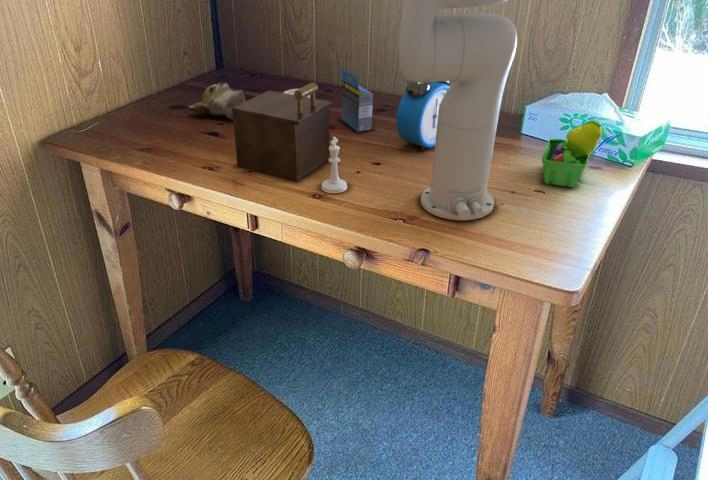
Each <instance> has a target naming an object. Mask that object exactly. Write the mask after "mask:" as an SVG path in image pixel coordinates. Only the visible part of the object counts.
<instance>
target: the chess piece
mask: <svg viewBox="0 0 708 480" xmlns="http://www.w3.org/2000/svg"><path fill="white" fill-rule="evenodd" d="M338 142H339V139H338V138H337V137H336V136H332V140H331V141H330V147H329V151H330V156H331V157H330V158H329V160H328V162H329V163H331V165H330V166H331V167H330V175H329V177H328V178H327V179H325V180H324V181H322V183H321V187H320V188H321V190H322V191H323V192H325V193H329V194H341V193H343V192H345V191H347V189H348V183H347V182H346V181H345V180H344V179H341V178H340V177H339V171H338V163H339V162H341V158H340V157H339V156H338V155H339V152H340V149H341V148H340V146H339V145H337V143H338Z"/></svg>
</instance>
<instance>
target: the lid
mask: <svg viewBox="0 0 708 480" xmlns="http://www.w3.org/2000/svg"><path fill="white" fill-rule="evenodd" d="M297 89H298V90H296V91H295V92H294V95H291V94H285V93H283V92H280V91H275V90H274V91H273V90H267V91H265V92H263V93H261V94H257V95H256V96H253V97H252V98H250V99H248V100H245V102H244V103H241V104H239V105H237V106H235V107H233V108H232V112H236V113H241V114H246V115H250V116H255V117H260V118H265V119H269V120H274V121H279V122H284V123H289V124H293V125H298V126H299V125H300V124H302V123H304V122H306V121H307V120H309V119H311V118H313V117H314V116H316V115H318V114H320V113H321V112H323V111H325V110H327V109H328V108H329V109H330V108H332V107H333V106H334V102H333V101H330V100H323V99H317V98H316V92H318V90H319V86H318V84H317V82H313V81H312V82H310V83H308V84H306V85H305V86H302V87H300V88H297ZM309 95H310V98H307V96H309Z"/></svg>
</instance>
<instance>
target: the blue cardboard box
mask: <svg viewBox="0 0 708 480" xmlns="http://www.w3.org/2000/svg"><path fill="white" fill-rule="evenodd" d="M348 78H350V79H351V80H350V79H348ZM359 80H360V79H359V77H358V76H357V75H355V74H353V73H351V72H349V71H348V70H346V69H345V68H343V67H341V121H342V122H343V123H345V124H346V125H348V126H349V127H350V128H351V129H353V130H354V131H356V133H360V132H366V131H372V128H373V127H372V126H373V125H372V124H373V122H372V121H373V120H372V119H373V103H374V102H373V101H374V93H372V92H371V91H369V90H368V89H366V88H364V87H362V86H360V83H359Z"/></svg>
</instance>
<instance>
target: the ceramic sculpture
mask: <svg viewBox="0 0 708 480" xmlns="http://www.w3.org/2000/svg"><path fill="white" fill-rule="evenodd" d="M244 102H246V98H245V94H244V92H243V90H242V89H240V90H237V91H236V90H232V89H231V88H230V85H229V84H228V83H227V82H225V81H222V80H217V81H216V83H214V84H211V85H208V86H207V87H206V88H205V89H204V91H203V94H202V101H200V102H196V103H193V104H190V105H185V107H186V108H187V109H188V110H189V111H191V112H193V113H196V114H198V115H205V114H206V115H207V114H210V115H212V116H225V117H226V118H227V119H228V120H233V112H232V108H233V107H235V106H237V105H239V104H241V103H244Z"/></svg>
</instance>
